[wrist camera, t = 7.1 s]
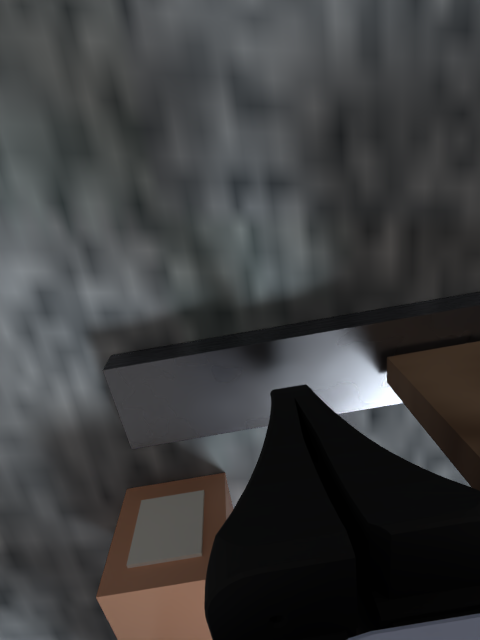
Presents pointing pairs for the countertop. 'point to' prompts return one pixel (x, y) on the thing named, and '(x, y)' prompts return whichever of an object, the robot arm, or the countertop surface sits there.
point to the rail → (277, 369)
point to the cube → (163, 559)
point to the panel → (444, 400)
